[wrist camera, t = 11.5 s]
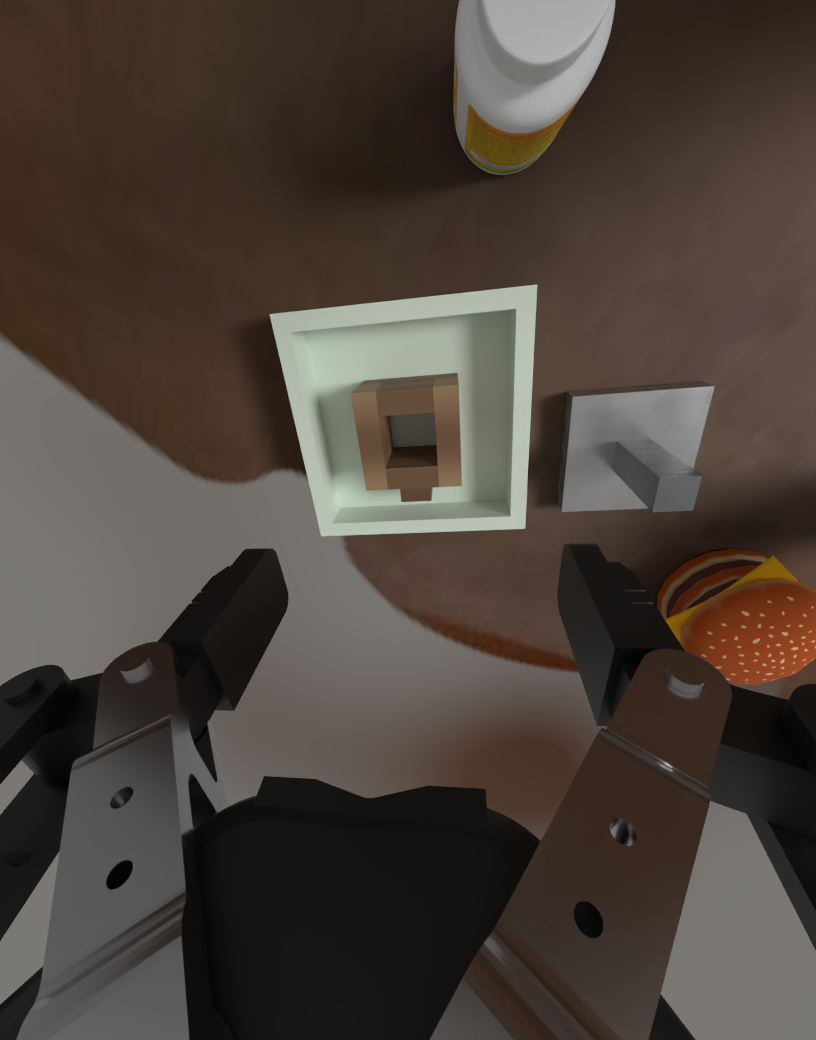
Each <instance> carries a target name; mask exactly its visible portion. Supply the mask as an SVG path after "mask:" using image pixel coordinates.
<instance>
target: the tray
mask: <svg viewBox="0 0 816 1040" xmlns="http://www.w3.org/2000/svg"><path fill="white" fill-rule="evenodd" d="M536 298H537V285H529V286H520V287H511V288H502V289H493V290H484V291H475V292H466V293H457V294H448V295H439V296H430V297H421V298H412V299H403V300H394V301H385V302H376V303H367V304H358V305H349V306H340V307H331V308H322V309H313V310H304V311H295V312H286V313H277V314H270V318H271V323H272V327H273V331H274V335H275V340H276V344H277V348H278V353H279V357H280V361H281V366H282V370H283V374H284V378H285V383H286V387H287V391H288V396H289V400H290V404H291V409H292V413H293V417H294V421H295V426H296V430H297V434H298V439H299V443H300V447H301V451H302V456H303V460H304V464H305V469H306V473H307V477H308V482H309V486H310V490H311V494H312V499H313V503H314V507H315V512H316V515H317V520H318V525H319V528H320V533H321V536H339V535H367V534H394V533H421V532H448V531H476V530H503V529H525V521H526V500H527V480H528V460H529V440H530V419H531V399H532V379H533V359H534V338H535V318H536ZM448 373H458V383H459V409H460V441H461V472H462V486H454V487H433V490H432V501H416V502H401V494H400V489H391V490H370V491H366V486H365V480H364V474H363V467H362V461H361V455H360V448H359V442H358V435H357V429H356V423H355V416H354V410H353V404H352V397H351V393H352V392H353V391H354V390H355V389H356V388H357V387H358V386H359V385H360V384H361V383H362V382H363V381H364V380H376V379H388V378H400V377H412V376H424V375H436V374H448ZM390 422H391V431H392V440H393V447H409V446H425V445H436V429H435V413H421V414H407V415H393V416H390Z"/></svg>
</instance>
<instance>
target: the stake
mask: <svg viewBox="0 0 816 1040" xmlns="http://www.w3.org/2000/svg"><path fill="white" fill-rule="evenodd" d="M714 387H715V386H713V385H710V384H707V383H704V382H701V381H699V382H686V383H673V384H660V385H648V386H635V387H622V388H609V389H596V390H583V391H570V392H567V394H566V405H565V416H564V427H563V439H562V450H561V461H560V472H559V483H558V494H557V504H558V506H559V508H560V510H561V512H574V511H598V510H622V509H646V508H649V509H650V510H651V511H652V512H671V511H693V508H694V505H695V501H696V497H697V494H698V490H699V486H700V483H701V479H702V475H701V474H700V473H698V472H697V471H696V470H694V469H693V468H694V464H695V460H696V456H697V452H698V448H699V445H700V441H701V437H702V433H703V429H704V425H705V421H706V418H707V414H708V410H709V406H710V402H711V398H712V394H713V391H714Z"/></svg>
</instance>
